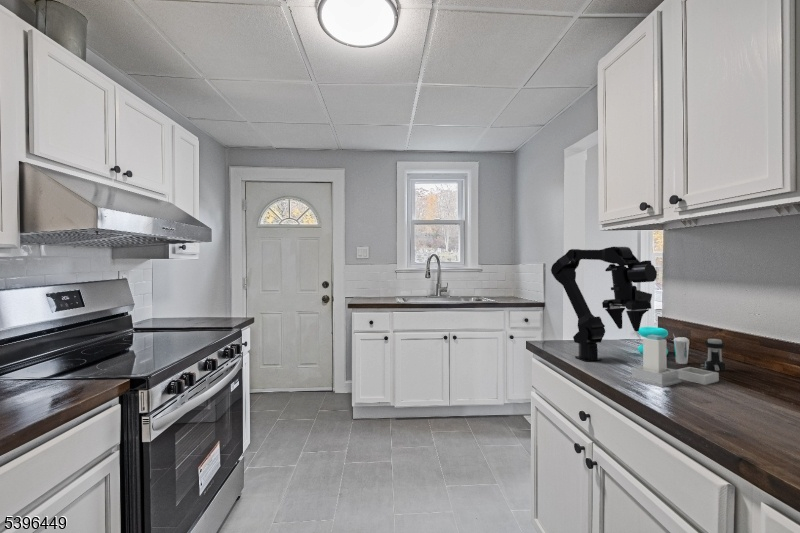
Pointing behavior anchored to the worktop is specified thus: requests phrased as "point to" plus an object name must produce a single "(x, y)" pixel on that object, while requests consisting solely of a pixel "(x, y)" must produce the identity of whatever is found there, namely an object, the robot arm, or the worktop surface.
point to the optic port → (655, 376)
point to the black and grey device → (714, 355)
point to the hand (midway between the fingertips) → (628, 330)
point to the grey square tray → (698, 375)
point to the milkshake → (681, 349)
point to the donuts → (652, 331)
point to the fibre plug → (654, 353)
